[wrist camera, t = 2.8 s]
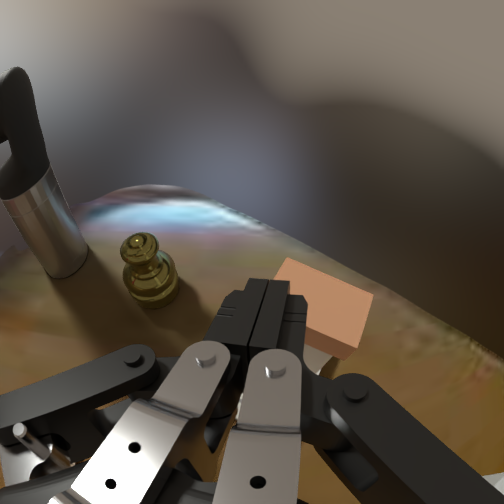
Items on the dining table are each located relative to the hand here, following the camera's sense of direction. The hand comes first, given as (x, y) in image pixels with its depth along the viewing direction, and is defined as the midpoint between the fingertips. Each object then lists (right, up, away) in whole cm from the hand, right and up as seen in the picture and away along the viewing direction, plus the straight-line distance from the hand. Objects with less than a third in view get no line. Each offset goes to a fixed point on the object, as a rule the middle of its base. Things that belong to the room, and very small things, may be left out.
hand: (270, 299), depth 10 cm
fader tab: (+2, -12, +18) cm, 22 cm away
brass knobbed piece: (-15, -3, +28) cm, 31 cm away
